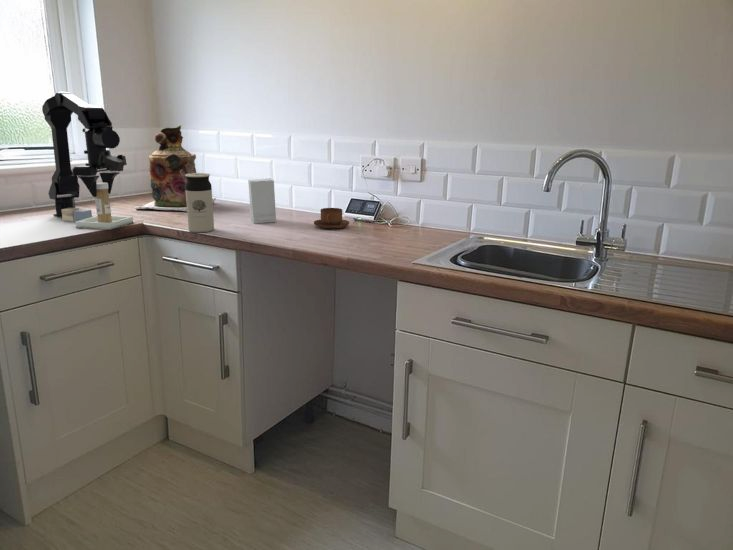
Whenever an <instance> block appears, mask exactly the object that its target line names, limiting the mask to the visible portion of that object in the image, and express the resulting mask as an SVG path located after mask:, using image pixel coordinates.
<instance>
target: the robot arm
mask: <svg viewBox="0 0 733 550" xmlns="http://www.w3.org/2000/svg"><path fill="white" fill-rule="evenodd" d="M41 107H42V108H41V109H42V110H41V111H42V114H43V115H44V120H45V122H46V123H47V124H48V125H49V127H50V129H51V138H52V144H53V156H54V163H55V171H54V173H53V174H52V176H51V184H50V187H49V190H48V197H49V199H50V200H54V206H55V212H56V213H54V214H52V215H53V216H54V217H62V211H61V210H62V209H66V208H76V203H75V202H76V201H75V200H76V199H75V198H80V190H81V189H80V188H81V187H80V184H79V183H80V182H79V179H80V180H81V182H82V183H83V184H84V185H85V187H86V188H87V190H88V191H89V193H90V194H91V196H92V197H94V198H95V197H97V184H96V183H97V180H98V179H99V178H100V179H101V181H102V182H104V183H108V193H109V195H111V192H112V188H113V183H114V181H115V178H116V177H117V176H118V175H119V174H120V172H123V171H124V166H127V164H128V163H127V159H126V155H123V154H118V155H117V156H116V155H112V154H111V151H110V150H109V149H116V148H117V147H118V146H119V144H120V143H121V142H120V141H121V139H120V136H119V134H118V133H117V131H115V130H113V123H112V121H111V119H110V118H109V116H108V114H107V112H106V110H105V109H104V108H103V107H102V106H98V105H95V104H94V105H93V104H89V103H87V102H85V101H84V100H82V99H80V98H79V97H78V96H76V95H75V94H74V92H71V91H70V92H69V91H58V92H56V93H55V95H53V96H51V97H50V98H48V99H46V100H45V102H44V103H43V104H42V106H41ZM73 113H74V114H75V115H76V116H77V120H78V121H79V122H80V124H82V126H83V128H82V129H81V130H82V133H84V136H85V145H86V150H83V154H85V155H87V161H88V163H87V162H86V163H85V165H76V166H74V167H71V155H70V146H69V138H68V128H69V126H70V124H71V121H72V114H73ZM97 173H99V175H97Z"/></svg>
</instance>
